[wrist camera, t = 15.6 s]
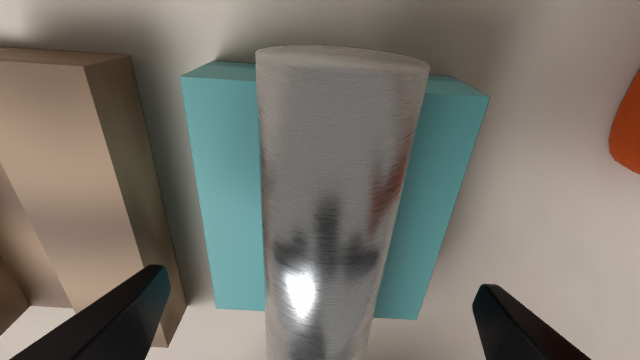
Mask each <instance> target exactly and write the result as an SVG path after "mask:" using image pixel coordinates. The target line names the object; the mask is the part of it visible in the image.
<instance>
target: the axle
mask: <svg viewBox="0 0 640 360" xmlns="http://www.w3.org/2000/svg"><path fill="white" fill-rule="evenodd" d="M255 62H256V88H257V114H258V140H259V166H260V192H261V218H262V244H263V270H264V296H265V322H266V348H267V360H363V359H364V354H365V350H366V346H367V341H368V337H369V333H370V328H371V324H372V320H373V315H374V311H375V307H376V302H377V298H378V294H379V289H380V285H381V280H382V276H383V272H384V267H385V263H386V259H387V254H388V250H389V246H390V241H391V237H392V233H393V228H394V224H395V220H396V215H397V211H398V207H399V202H400V198H401V194H402V189H403V185H404V181H405V176H406V172H407V168H408V163H409V159H410V154H411V150H412V146H413V141H414V137H415V133H416V128H417V124H418V120H419V115H420V111H421V107H422V102H423V98H424V94H425V89H426V85H427V81H428V76H429V72H430V68H431V66H430V64H429V63H427V62H425V61H423V60H420V59H417V58H413V57H410V56H405V55H401V54H396V53H390V52H384V51H377V50H369V49H361V48H350V47H338V46H318V45H287V46H274V47H267V48H262V49H259V50H257V51H256V52H255Z"/></svg>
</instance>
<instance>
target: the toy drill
mask: <svg viewBox="0 0 640 360" xmlns="http://www.w3.org/2000/svg"><path fill="white" fill-rule="evenodd" d="M609 149H610V153H611V155H612V156H613V158H614V159H615V161H617V162H618V163H620V164H622V165H623V166H625V167H627V168H628V169H630V170H632V171H633V172H636V173H638V174H640V70H639V71H638V73H637V75H636V77H635V78H634V80H633V82H632V84H631V86H630V88H629V89H628V91H627V93H626V95H625V97H624V99H623V101H622V102H621V104H620V107H619V109H618V112H617V114H616V117H615V119H614V122H613V124H612V129H611V133H610V137H609Z"/></svg>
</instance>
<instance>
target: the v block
mask: <svg viewBox="0 0 640 360" xmlns="http://www.w3.org/2000/svg"><path fill="white" fill-rule="evenodd" d="M180 83H181V89H182V95H183V102H184V108H185V114H186V121H187V127H188V133H189V140H190V146H191V152H192V159H193V165H194V171H195V178H196V184H197V190H198V197H199V203H200V209H201V216H202V222H203V228H204V235H205V241H206V247H207V254H208V260H209V266H210V272H211V279H212V285H213V291H214V298H215V304H216V308H219V309H237V310H254V311H265V296H264V270H263V244H262V218H261V192H260V166H259V140H258V114H257V88H256V64H252V63H237V62H222V61H212V62H210V63H208V64H206V65H203V66H201V67H199V68H197V69H195V70H193V71H190V72H188V73H186V74H184V75H182V76H180ZM489 99H490V97H489V96H487V95H485V94H484V93H482V92H480V91H478V90H476V89H474V88H473V87H471V86H469V85H467V84H465V83H463V82H462V81H460V80H458V79H456V78H454V77H447V76H432V75H429V76H428V81H427V85H426V89H425V94H424V98H423V102H422V107H421V111H420V115H419V120H418V124H417V128H416V133H415V137H414V141H413V146H412V150H411V154H410V159H409V163H408V168H407V172H406V176H405V181H404V185H403V189H402V194H401V198H400V202H399V207H398V211H397V215H396V220H395V224H394V228H393V233H392V237H391V241H390V246H389V250H388V254H387V259H386V263H385V267H384V272H383V276H382V280H381V285H380V289H379V294H378V298H377V302H376V307H375V311H374V315H373V317H376V318H393V319H411V320H417V317H418V314H419V311H420V308H421V305H422V302H423V299H424V296H425V293H426V290H427V287H428V284H429V281H430V278H431V275H432V271H433V268H434V265H435V262H436V259H437V256H438V253H439V250H440V247H441V244H442V241H443V238H444V235H445V232H446V229H447V226H448V223H449V220H450V217H451V214H452V211H453V208H454V205H455V202H456V199H457V196H458V193H459V190H460V187H461V184H462V181H463V178H464V175H465V172H466V169H467V166H468V163H469V160H470V157H471V153H472V150H473V147H474V144H475V141H476V138H477V135H478V132H479V129H480V126H481V123H482V120H483V117H484V114H485V111H486V108H487V105H488V102H489Z"/></svg>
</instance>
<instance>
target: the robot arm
mask: <svg viewBox="0 0 640 360" xmlns="http://www.w3.org/2000/svg"><path fill="white" fill-rule="evenodd" d="M170 292H171V283H170V279H169V275H168V271H167V267H166V266H165V265H162V264H150V265H148V266H146V267H144V268H143V269H142V270H140V271H139V272H137V273H136V274H134V275H133V276H131V277H130V278H128V279H127V280H125V281H124V282H122V283H121V284H120V285H118V286H117V287H115V288H114V289H112V290H111V291H109V292H108V293H106V294H105V295H103V296H102V297H100V298H99V299H98V300H96V301H95V302H93V303H92V304H90V305H89V306H87V307H86V308H84V309H83V310H81V311H80V312H78V313H77V314H76V315H74V316H73V317H71V318H70V319H68V320H67V321H65V322H64V323H62V324H61V325H59V326H58V327H56V328H55V329H54V330H52V331H51V332H49V333H48V334H46V335H45V336H43V337H42V338H40V339H39V340H37V341H36V342H34V343H33V344H32V345H30V346H29V347H27V348H26V349H24V350H23V351H21V352H20V353H18V354H17V355H15V356H14V357H12V358H11V359H10V360H145V358H146V356H147V354H148V351H149V349H150V347H151V344H152V342H153V339H154V337H155V334H156V331H157V328H158V326H159V323H160V320H161V317H162V314H163V312H164V309H165V306H166V303H167V301H168V298H169V295H170ZM472 309H473V314H474V317H475V321H476V325H477V328H478V332H479V335H480V339H481V343H482V346H483V350H484V354H485V357H486V360H591V359H590V358H589V357H587V356H586V355H585V354H584V353H582V352H581V351H580V350H579V349H577V348H576V347H575V346H574V345H572V344H571V343H570V342H569V341H567V340H566V339H565V338H564V337H562V336H561V335H560V334H559V333H557V332H556V331H555V330H554V329H552V328H551V327H550V326H549V325H547V324H546V323H545V322H544V321H542V320H541V319H540V318H539V317H537V316H536V315H535V314H534V313H532V312H531V311H530V310H529V309H527V308H526V307H525V306H524V305H522V304H521V303H520V302H519V301H517V300H516V299H515V298H514V297H512V296H511V295H510V294H509V293H507V292H506V291H505V290H504V289H502V288H501V287H500V286H498V285H495V284H482V285H481V286H480V288H479V290H478V292H477V294H476V297H475V299H474V301H473V305H472Z"/></svg>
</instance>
